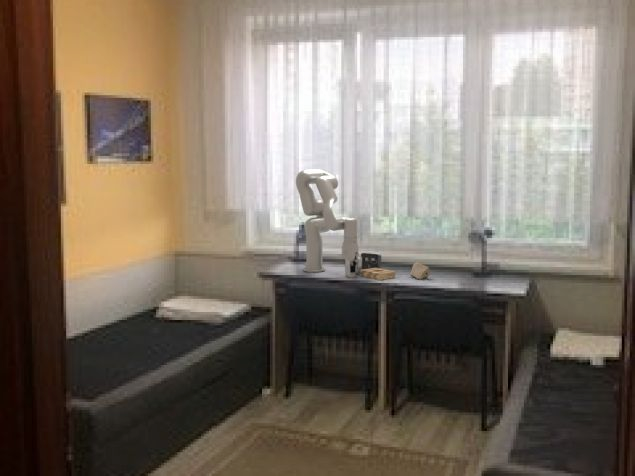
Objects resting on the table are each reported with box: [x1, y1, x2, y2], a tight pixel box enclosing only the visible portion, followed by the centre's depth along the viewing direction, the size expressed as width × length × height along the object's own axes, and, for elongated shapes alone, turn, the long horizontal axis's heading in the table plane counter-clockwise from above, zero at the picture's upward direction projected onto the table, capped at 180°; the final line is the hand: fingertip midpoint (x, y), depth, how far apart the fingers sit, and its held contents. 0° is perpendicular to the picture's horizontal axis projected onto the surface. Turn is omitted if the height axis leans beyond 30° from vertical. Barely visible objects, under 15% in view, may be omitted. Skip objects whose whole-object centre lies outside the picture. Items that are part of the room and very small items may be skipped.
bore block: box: [359, 268, 396, 281], centre depth 388 cm, size 16×12×4 cm
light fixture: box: [360, 252, 382, 270], centre depth 408 cm, size 11×13×11 cm
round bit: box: [355, 256, 362, 276], centre depth 396 cm, size 4×4×10 cm
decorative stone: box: [409, 261, 431, 280], centre depth 386 cm, size 8×14×8 cm, turn 26°
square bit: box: [344, 260, 356, 278], centre depth 390 cm, size 4×4×10 cm
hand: (350, 271), depth 390 cm, fingers closed on square bit, 4 cm apart
